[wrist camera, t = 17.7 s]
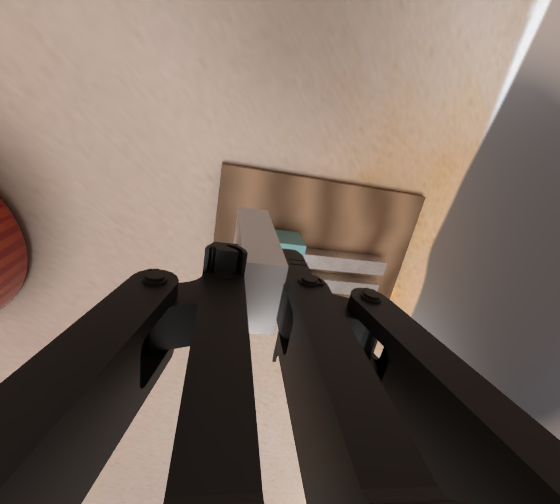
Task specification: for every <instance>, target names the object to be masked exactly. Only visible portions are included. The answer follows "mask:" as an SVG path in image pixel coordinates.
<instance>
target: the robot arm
mask: <svg viewBox="0 0 560 504" xmlns="http://www.w3.org/2000/svg"><path fill="white" fill-rule="evenodd" d="M178 282H179V280H178V278H177V276H176V275H175V274H173V273H172V272H168V271H165V270H159V269H147V270H144V271H140V272H137V273H136V274H134V275H132V276H131V277H130V278H129V279H127V280H126V281H125V282H124V283H122V284H121V285H120V286H119V287H118V288H116V289H115V290H114V291H113V292H111V293H110V294H109V295H108V296H107V297H105V298H104V299H103V300H102V301H100V302H99V303H98V304H97V305H96V306H94V307H93V308H92V309H91V310H89V311H88V312H87V313H86V314H85V315H83V316H82V317H81V318H80V319H78V320H77V321H76V322H75V323H74V324H72V325H71V326H70V327H69V328H67V329H66V330H65V331H64V332H63V333H61V334H60V335H59V336H58V337H56V338H55V339H54V340H53V341H51V342H50V343H49V344H48V345H47V346H45V347H44V348H43V349H42V350H40V351H39V352H38V353H37V354H36V355H34V356H33V357H32V358H31V359H29V360H28V361H27V362H26V363H25V364H23V365H22V366H21V367H20V368H18V369H17V370H16V371H15V372H14V373H12V374H11V375H10V376H9V377H7V378H6V379H5V380H4V381H3V382H1V383H0V504H81V503H82V502H83V500H84V498H85V497H86V495H87V494H88V492H89V490H90V489H91V487H92V485H93V484H94V482H95V481H96V479H97V477H98V476H99V474H100V472H101V471H102V469H103V468H104V466H105V464H106V463H107V461H108V459H109V458H110V456H111V455H112V453H113V451H114V450H115V448H116V446H117V445H118V443H119V442H120V440H121V438H122V437H123V435H124V433H125V432H126V430H127V429H128V427H129V425H130V424H131V422H132V421H133V419H134V417H135V416H136V414H137V412H138V411H139V409H140V408H141V406H142V404H143V403H144V401H145V399H146V398H147V396H148V395H149V393H150V391H151V390H152V388H153V386H154V385H155V383H156V382H157V380H158V378H159V377H160V375H161V373H162V372H163V370H164V369H165V367H166V365H167V364H168V362H169V361H170V359H171V357H172V355H173V352H174V349H175V348H181V347H187V346H190V351H189V357H188V363H187V369H186V375H185V380H184V386H183V392H182V398H181V404H180V410H179V416H178V422H177V427H176V433H175V439H174V445H173V451H172V457H171V463H170V468H169V474H168V480H167V486H166V492H165V498H164V503H163V504H264V501H263V493H262V481H261V469H260V457H259V445H258V433H257V422H256V410H255V398H254V386H253V374H252V362H251V350H250V339H249V333H250V334H267V335H274V334H275V329H276V324H278V329H279V331H278V336H277V341H276V345H275V350H274V355H273V361H272V362H276V358H277V356H279V361H280V366H281V371H282V377H283V382H284V387H285V393H286V398H287V403H288V408H289V414H290V419H291V424H292V430H293V435H294V440H295V445H296V451H297V456H298V461H299V466H300V472H301V477H302V482H303V488H304V493H305V498H306V503H307V504H560V440H559V439H557V438H556V437H555V436H554V435H553V434H552V433H550V432H549V431H548V430H547V429H545V428H544V427H543V426H542V425H540V424H539V423H538V422H537V421H536V420H535V419H533V418H532V417H531V416H530V415H528V414H527V413H526V412H525V411H524V410H522V409H521V408H520V407H519V406H518V405H516V404H515V403H514V402H513V401H511V400H510V399H509V398H508V397H507V396H506V395H504V394H503V393H502V392H501V391H499V390H498V389H497V388H496V387H495V386H493V385H492V384H491V383H490V382H489V381H487V380H486V379H485V378H484V377H483V376H481V375H480V374H479V373H478V372H476V371H475V370H474V369H473V368H471V367H470V366H469V365H468V364H467V363H466V362H464V361H463V360H462V359H461V358H460V357H458V356H457V355H456V354H455V353H453V352H452V351H451V350H450V349H449V348H447V347H446V346H445V345H444V344H443V343H441V342H440V341H439V340H438V339H437V338H435V337H434V336H433V335H432V334H431V333H429V332H428V331H427V330H426V329H424V328H423V327H422V326H421V325H420V324H418V323H417V322H416V321H415V320H413V319H412V318H411V317H410V316H409V315H408V314H406V313H405V312H404V311H403V310H401V309H400V308H399V307H398V306H397V305H395V304H394V303H393V302H392V301H391V300H389V299H388V298H387V297H386V296H384V295H383V294H381V293H379V292H377V291H375V290H374V289H369V288H355V289H353V290H352V291H351V293H350V297H349V298H347V297H343V296H339V295H335V294H332V292H331V290H330V288H329V286H328V285H327V283H326V282H325V281H324V280H322V279H321V278H319V277H317V276H314V275H312V273H311V271H310V269H309V267H308V265H307V263H306V262H305V259H304V257H303V255H302V254H300V253H299V252H298V251H297V250H292V249H283V248H282V247H281V245H280V242H279V239H278V237H277V234H276V231H275V228H274V226H273V223H272V220H271V218H270V215H269V212H268V210H261V209H254V208H247V207H238V214H237V222H236V229H235V237H234V244H232V243H223V242H215V241H214V242H213V243H212V244H210V245H208V246H207V247H206V248H205V257H204V267H203V275H202V277H200V278H199V279H197V280H194V281H191V282H184V283H178ZM377 341H379V342H380V343H381V344H382V345H383V346H384V348H383V351H382V354H381V356H380V358H378V357H377V356H376V355H375V354H374V353H373V352H374V350H375V347H376V344H377Z"/></svg>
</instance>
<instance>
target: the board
mask: <svg viewBox="0 0 560 504" xmlns="http://www.w3.org/2000/svg"><path fill="white" fill-rule="evenodd" d="M424 200H425V197H424V196H421V195H416V194H410V193H404V192H397V191H391V190H385V189H379V188H373V187H367V186H361V185H354V184H348V183H342V182H336V181H330V180H324V179H318V178H311V177H305V176H299V175H293V174H287V173H281V172H275V171H268V170H262V169H256V168H250V167H244V166H238V165H232V164H225V163H222V170H221V179H220V188H219V197H218V206H217V215H216V225H215V234H214V241H215V242H223V243H232V244H234V237H235V229H236V222H237V214H238V207H247V208H254V209H261V210H268V212H269V215H270V218H271V220H272V223H273V226H274V228H275V229H276V230H284V231H292V232H299V234H300V235H301V237H302V239H303V241H304V243H305V244H306V246H307V247H306V248H313V249H322V250H331V251H340V252H349V253H358V254H368V255H377V256H381V257H382V258H383V259H384V260H385V261H386V262H387V266H386V269H385V272H384V275H383V276H380V275H370V274H360V273H349V272H339V271H329V270H318V269H310V271H318V272H327V273H337V274H347V275H356V276H366V277H373V278H374V280H375V281H376V282H377V283H378V284H379V288H378V291H377V292H379V293H381V294H383V295H384V296H386V297H387V298H388V299H390V296H391V293H392V290H393V288H394V285H395V282H396V279H397V276H398V274H399V271H400V268H401V265H402V262H403V259H404V257H405V254H406V251H407V248H408V245H409V242H410V240H411V237H412V234H413V231H414V228H415V226H416V223H417V220H418V217H419V214H420V211H421V209H422V206H423V203H424ZM332 294H335V293H332ZM335 295H339V296H343V297H347V298H349V297H350V295H346V294H335Z"/></svg>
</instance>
